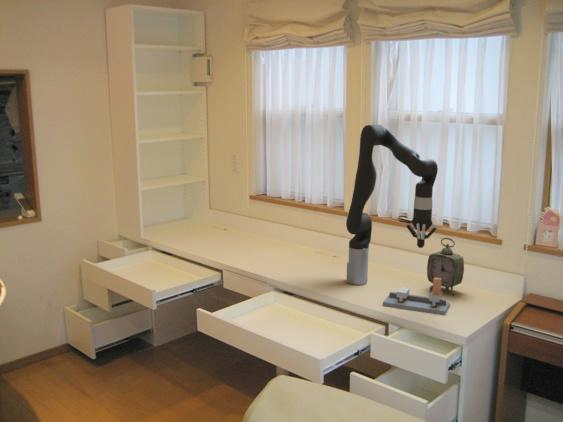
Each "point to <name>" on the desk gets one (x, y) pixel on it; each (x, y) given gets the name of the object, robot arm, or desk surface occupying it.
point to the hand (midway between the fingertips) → (420, 247)
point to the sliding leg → (436, 291)
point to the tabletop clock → (446, 267)
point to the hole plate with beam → (415, 302)
